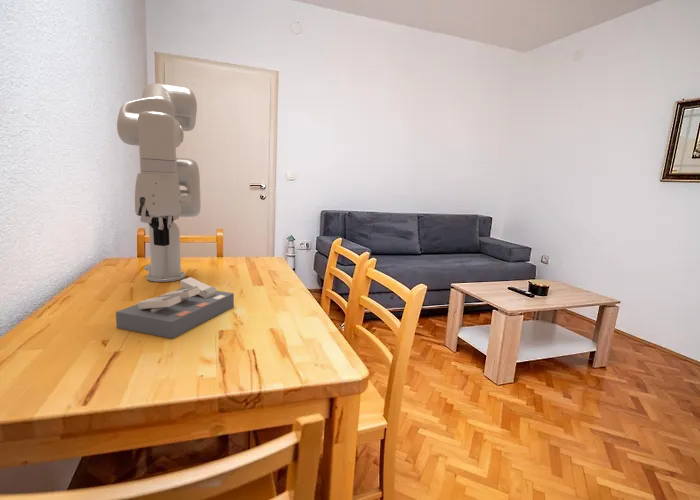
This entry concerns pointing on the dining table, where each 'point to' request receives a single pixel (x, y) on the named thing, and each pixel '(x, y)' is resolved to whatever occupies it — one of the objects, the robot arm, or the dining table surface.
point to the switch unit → (174, 315)
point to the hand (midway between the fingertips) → (161, 244)
